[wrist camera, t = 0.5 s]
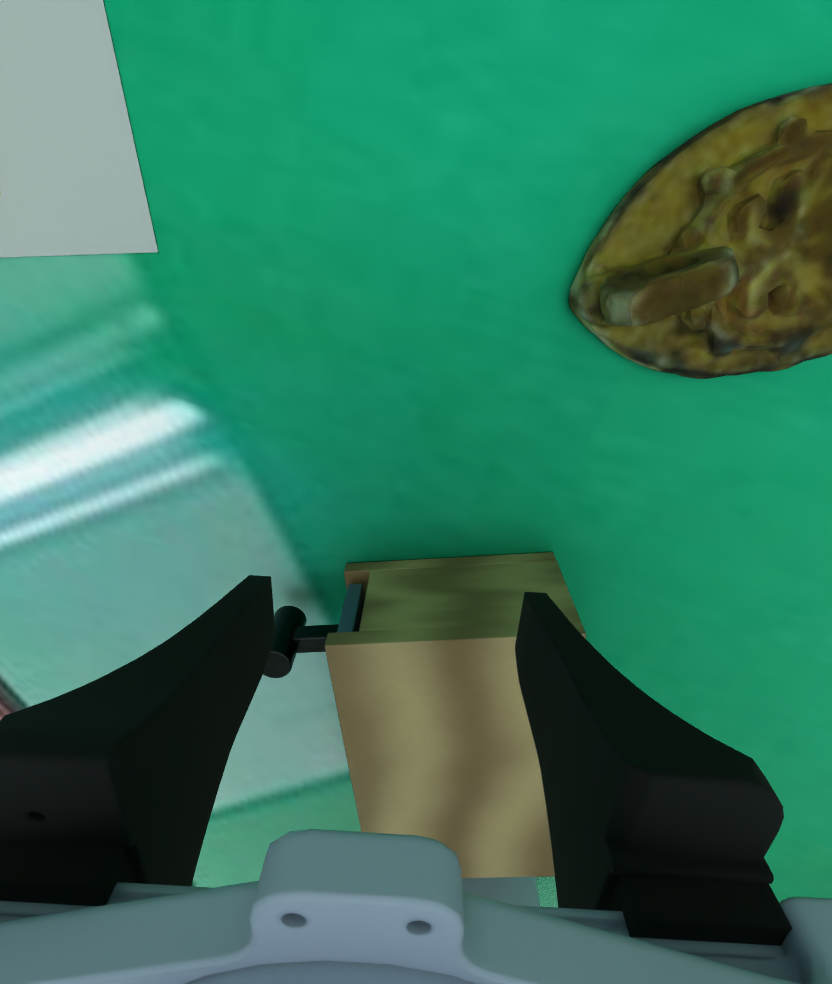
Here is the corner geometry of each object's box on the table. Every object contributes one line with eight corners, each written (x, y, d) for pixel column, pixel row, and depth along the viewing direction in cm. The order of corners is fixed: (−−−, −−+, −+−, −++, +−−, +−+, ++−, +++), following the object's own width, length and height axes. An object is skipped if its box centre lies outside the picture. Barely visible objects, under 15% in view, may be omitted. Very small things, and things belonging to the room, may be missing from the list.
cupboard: (380, 776, 33) (370, 880, 28) (345, 562, 26) (324, 645, 21) (545, 770, 33) (568, 876, 27) (553, 551, 26) (586, 633, 20)
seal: (973, 27, 18) (537, 192, 20) (1151, -68, 13) (565, 158, 15) (974, 305, 20) (591, 423, 23) (1122, 304, 16) (628, 450, 18)
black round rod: (300, 706, 29) (282, 768, 26) (271, 587, 26) (247, 640, 22) (380, 703, 29) (373, 764, 25) (362, 582, 25) (352, 636, 22)
